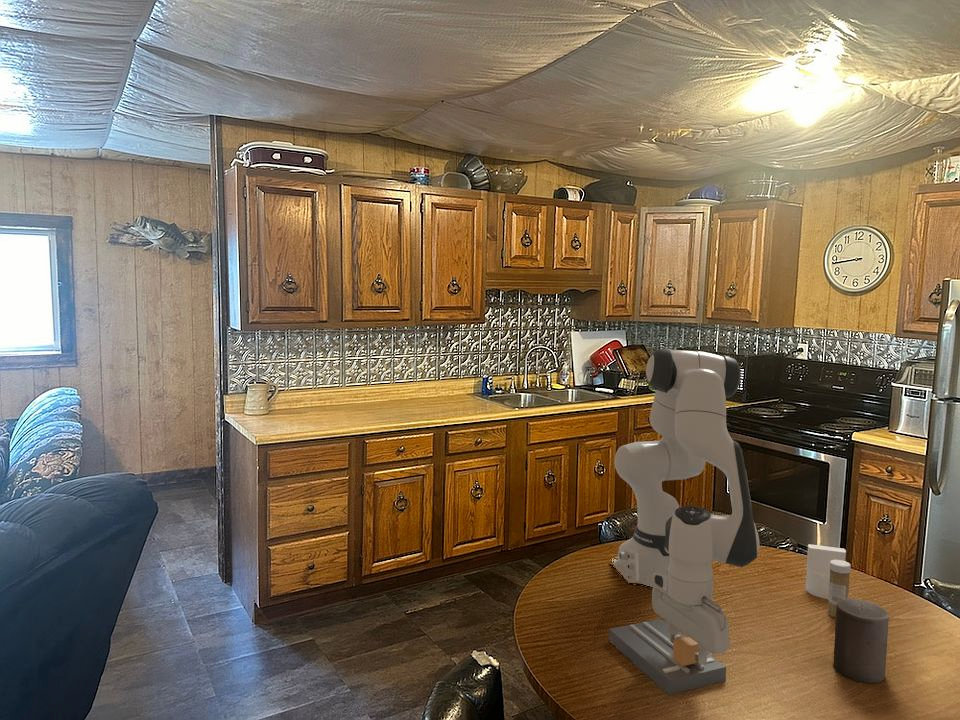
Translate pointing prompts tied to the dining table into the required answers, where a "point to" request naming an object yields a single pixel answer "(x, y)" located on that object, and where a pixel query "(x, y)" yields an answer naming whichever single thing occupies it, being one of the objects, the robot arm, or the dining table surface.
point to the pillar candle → (861, 640)
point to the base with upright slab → (821, 568)
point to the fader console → (663, 657)
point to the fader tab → (685, 651)
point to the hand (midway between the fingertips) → (687, 652)
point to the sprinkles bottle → (838, 584)
